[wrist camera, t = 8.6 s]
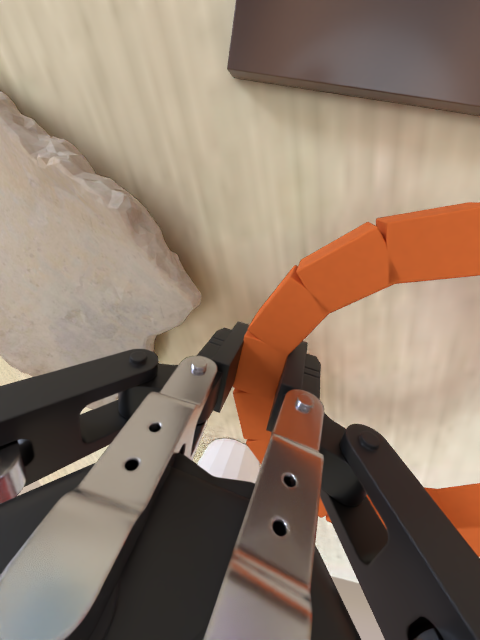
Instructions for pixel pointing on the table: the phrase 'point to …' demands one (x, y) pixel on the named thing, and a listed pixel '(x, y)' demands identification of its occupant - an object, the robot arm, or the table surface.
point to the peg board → (363, 49)
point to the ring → (343, 289)
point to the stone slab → (77, 258)
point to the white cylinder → (230, 460)
